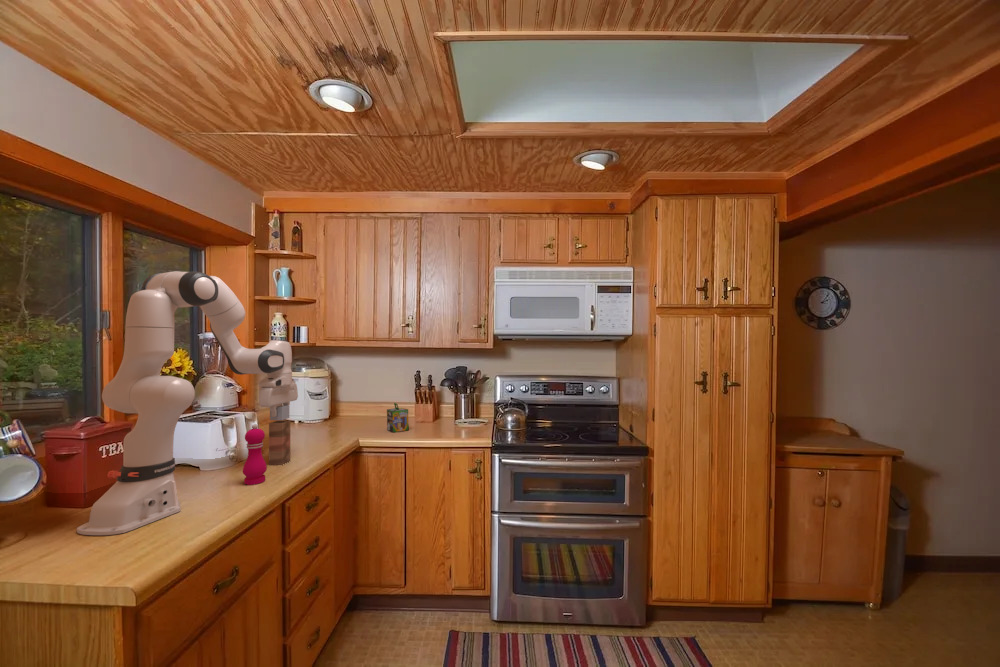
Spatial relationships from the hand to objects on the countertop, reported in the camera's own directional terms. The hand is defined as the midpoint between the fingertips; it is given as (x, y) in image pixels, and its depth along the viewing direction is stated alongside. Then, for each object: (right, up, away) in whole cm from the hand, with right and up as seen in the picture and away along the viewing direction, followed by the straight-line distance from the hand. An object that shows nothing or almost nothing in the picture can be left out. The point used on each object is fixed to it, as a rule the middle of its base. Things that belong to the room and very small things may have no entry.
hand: (279, 415), depth 169 cm
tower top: (0, -8, 0) cm, 8 cm away
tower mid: (0, -14, 0) cm, 14 cm away
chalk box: (+33, -20, +60) cm, 71 cm away
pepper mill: (+3, -19, -23) cm, 30 cm away
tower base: (0, -19, 0) cm, 19 cm away
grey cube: (0, -2, 0) cm, 2 cm away
